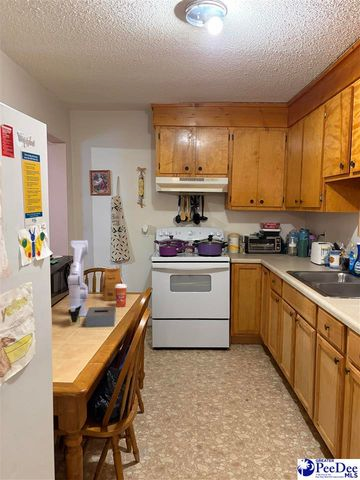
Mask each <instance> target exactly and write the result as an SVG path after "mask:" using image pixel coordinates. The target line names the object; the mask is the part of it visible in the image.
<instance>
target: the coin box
mask: <svg viewBox="0 0 360 480" xmlns="http://www.w3.org/2000/svg"><path fill="white" fill-rule="evenodd" d="M116 307H117V306H94V307H93V306H91V307H88V309H87V314H86V316H84V317H85V319H84V320H85V321H84V322H85V328H103V327H105V328H106V327H115V325H116V317H117V316H116V315H117V314H116V313H117V311H116V309H117V308H116Z"/></svg>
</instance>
